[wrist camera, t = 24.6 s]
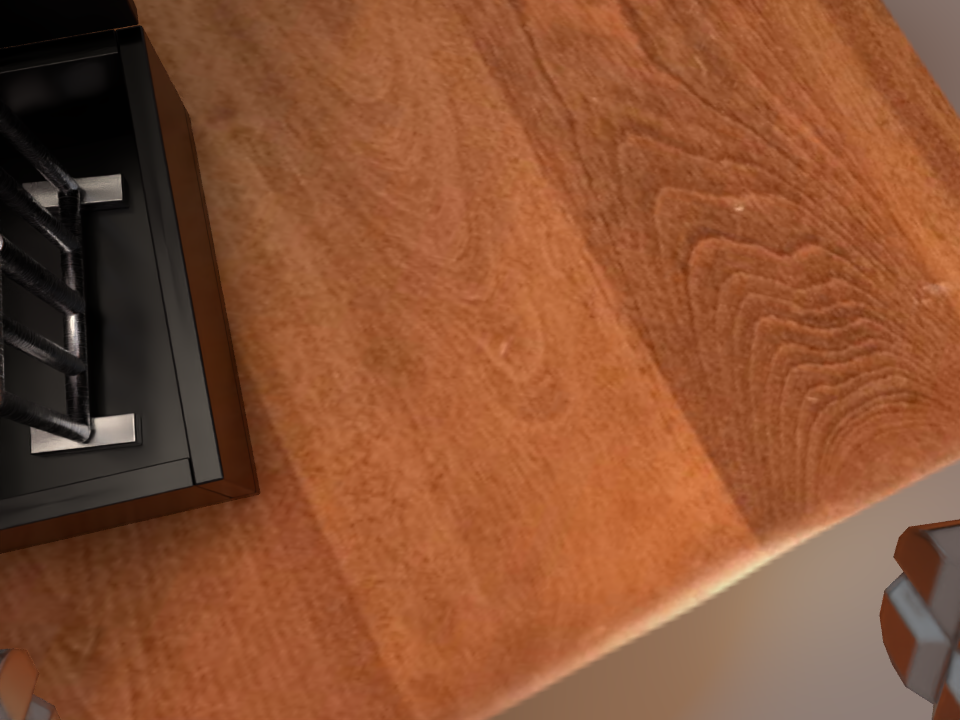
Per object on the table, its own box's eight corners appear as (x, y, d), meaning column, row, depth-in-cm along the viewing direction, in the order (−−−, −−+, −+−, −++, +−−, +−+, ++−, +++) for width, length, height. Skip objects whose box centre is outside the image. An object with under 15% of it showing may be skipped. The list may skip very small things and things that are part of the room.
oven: (261, 494, 37) (224, 479, 30) (-20, 558, 36) (-124, 558, 29) (189, 114, 40) (141, 24, 34) (-70, 161, 39) (-174, 78, 32)
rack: (142, 445, 36) (53, 408, 28) (38, 457, 36) (-87, 424, 27) (127, 180, 39) (40, 69, 30) (29, 190, 38) (-88, 79, 29)
